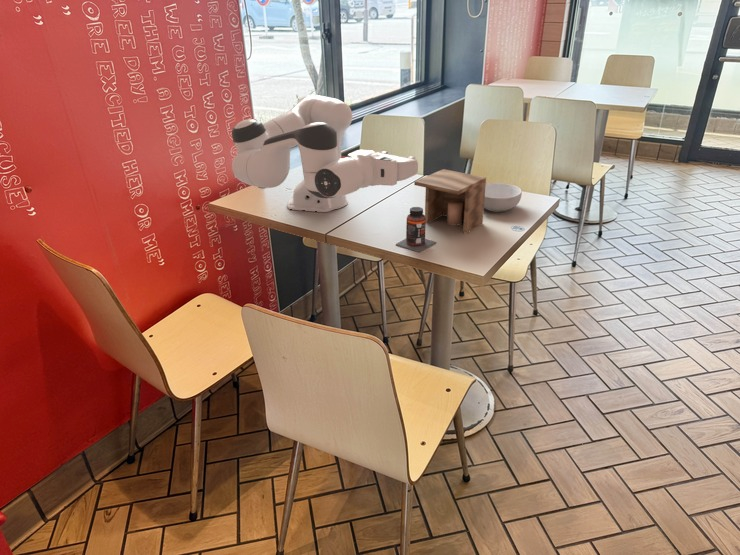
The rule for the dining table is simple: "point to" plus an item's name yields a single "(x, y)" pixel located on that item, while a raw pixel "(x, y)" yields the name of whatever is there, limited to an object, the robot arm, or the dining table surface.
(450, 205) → the tan round cylinder
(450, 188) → the walnut shelf
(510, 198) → the cereal bowl
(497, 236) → the dining table surface
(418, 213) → the supplement bottle
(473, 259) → the dining table surface
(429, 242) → the slate mat
